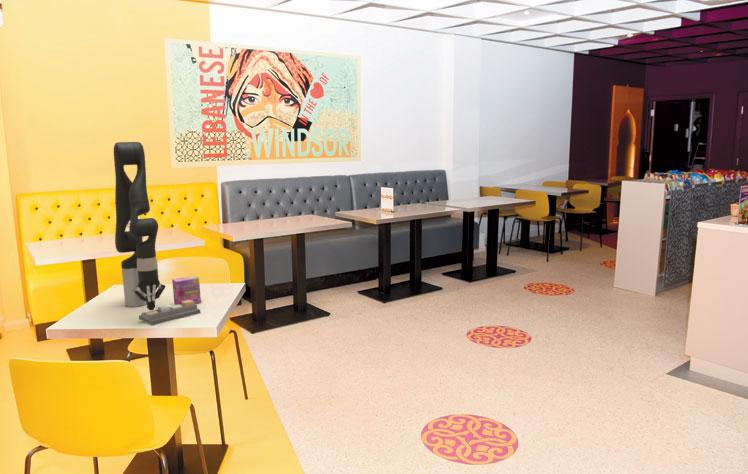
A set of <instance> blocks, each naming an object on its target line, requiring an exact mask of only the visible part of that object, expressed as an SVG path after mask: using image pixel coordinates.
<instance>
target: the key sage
mask: <svg viewBox="0 0 748 474" xmlns="http://www.w3.org/2000/svg"><path fill="white" fill-rule="evenodd" d="M169 306H170V308H171V309H173V310H174V309H178V308H183V307H182V306H181V305H175V304H174V305H169Z"/></svg>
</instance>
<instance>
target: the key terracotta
mask: <svg viewBox="0 0 748 474" xmlns="http://www.w3.org/2000/svg"><path fill="white" fill-rule="evenodd" d="M181 304H182V306H184V307H187V306H191V305H194V301H192V300H186V301H181Z"/></svg>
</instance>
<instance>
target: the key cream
mask: <svg viewBox="0 0 748 474" xmlns="http://www.w3.org/2000/svg"><path fill="white" fill-rule="evenodd" d="M155 310H156V309H154V310H151V311H150V310H148V311H145V314H147V315H153V314H157V313H158V312H157V311H155Z"/></svg>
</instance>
